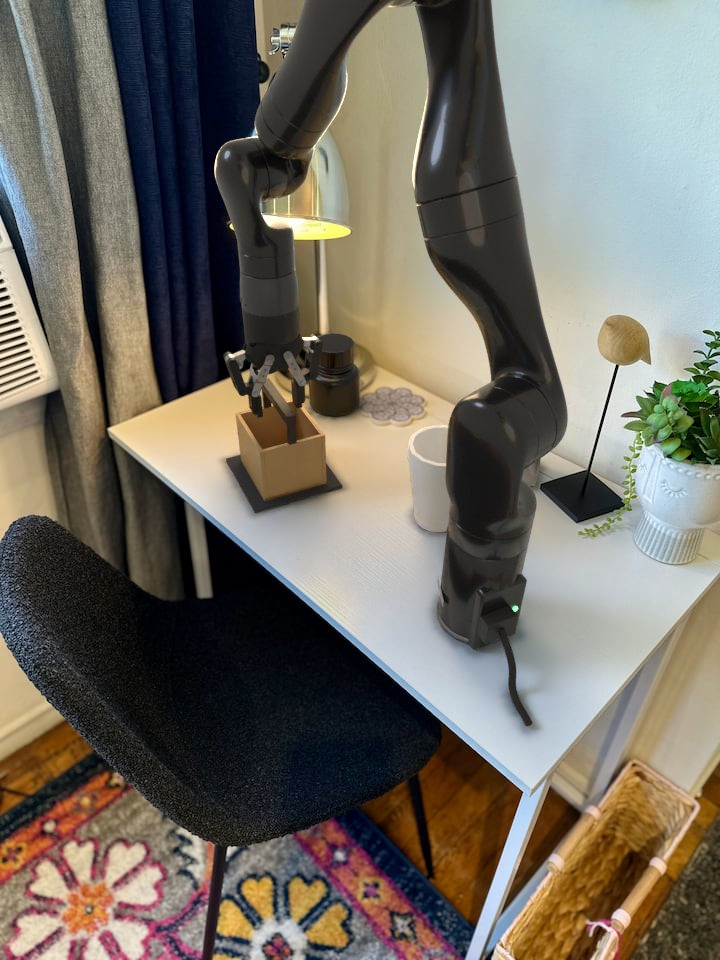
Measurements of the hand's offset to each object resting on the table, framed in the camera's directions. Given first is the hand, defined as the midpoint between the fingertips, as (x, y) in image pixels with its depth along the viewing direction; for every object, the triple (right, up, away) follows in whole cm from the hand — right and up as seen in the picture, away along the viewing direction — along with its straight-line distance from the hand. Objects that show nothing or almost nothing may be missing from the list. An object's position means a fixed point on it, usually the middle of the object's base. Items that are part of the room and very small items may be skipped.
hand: (278, 409), depth 105 cm
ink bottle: (+7, +3, +23) cm, 25 cm away
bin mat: (0, -9, +7) cm, 12 cm away
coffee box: (+35, -9, +9) cm, 37 cm away
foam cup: (+23, -16, 0) cm, 28 cm away
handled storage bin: (0, -9, +7) cm, 11 cm away
